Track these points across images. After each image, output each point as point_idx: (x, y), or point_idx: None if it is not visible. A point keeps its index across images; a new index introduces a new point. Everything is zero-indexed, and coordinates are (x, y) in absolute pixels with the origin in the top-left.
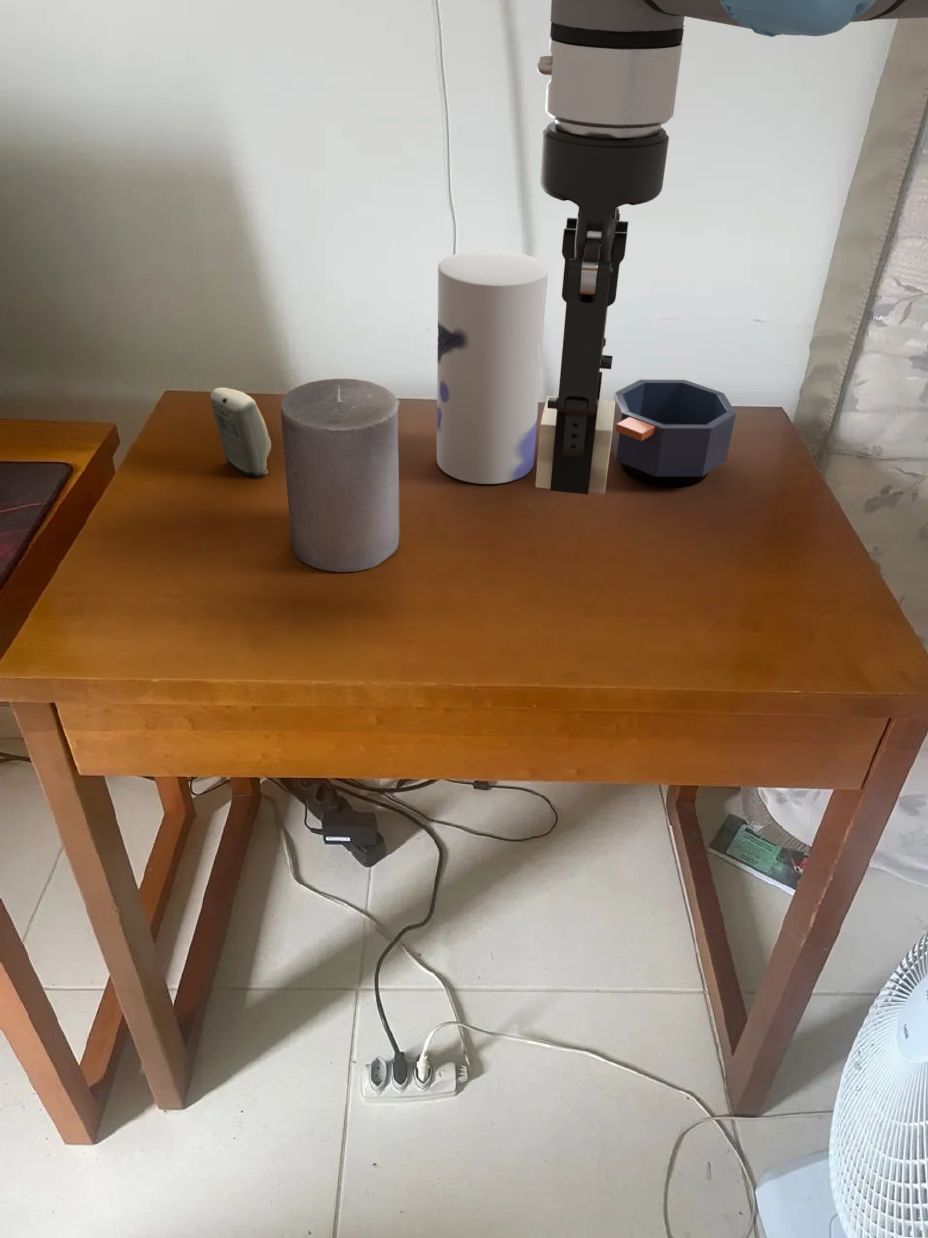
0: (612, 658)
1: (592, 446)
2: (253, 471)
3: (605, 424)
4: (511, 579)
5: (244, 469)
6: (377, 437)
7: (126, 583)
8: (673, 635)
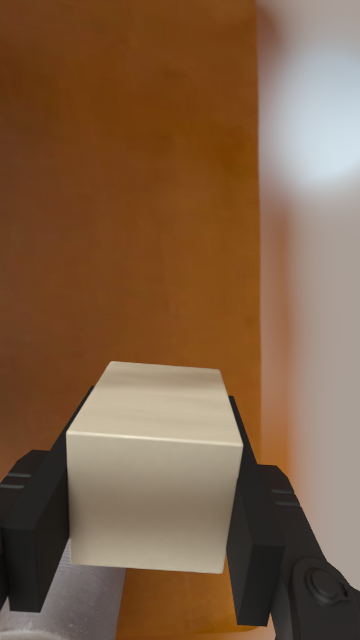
0: (225, 286)
1: (252, 457)
2: None
3: (209, 457)
4: None
5: None
6: (81, 617)
7: (171, 605)
8: (187, 228)
